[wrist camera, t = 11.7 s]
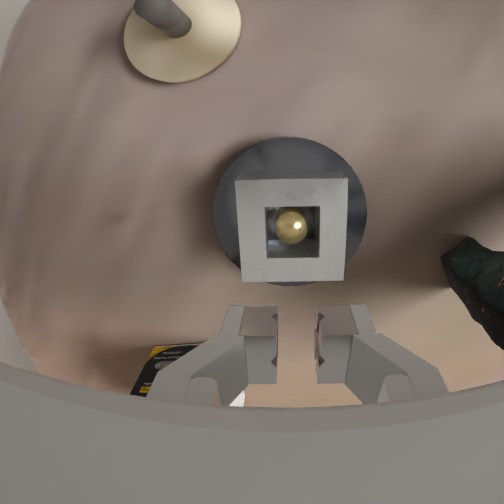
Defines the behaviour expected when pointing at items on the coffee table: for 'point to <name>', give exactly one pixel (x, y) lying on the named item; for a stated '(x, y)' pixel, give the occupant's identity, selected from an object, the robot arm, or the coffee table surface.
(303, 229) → the hub
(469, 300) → the bull figurine
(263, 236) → the square tunnel block
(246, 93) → the coffee table surface
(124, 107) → the coffee table surface
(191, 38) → the stand
